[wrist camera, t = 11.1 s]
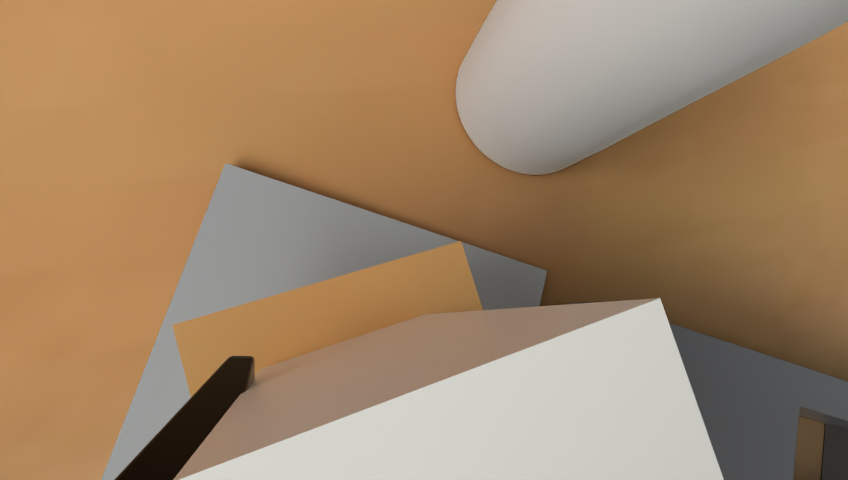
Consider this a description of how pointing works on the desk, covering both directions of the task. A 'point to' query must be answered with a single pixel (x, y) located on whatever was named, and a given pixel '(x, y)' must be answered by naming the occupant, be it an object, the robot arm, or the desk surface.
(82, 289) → the desk surface
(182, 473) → the white and tan block
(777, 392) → the gray slab with hole
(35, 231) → the desk surface
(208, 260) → the mat
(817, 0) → the mug
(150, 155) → the desk surface
